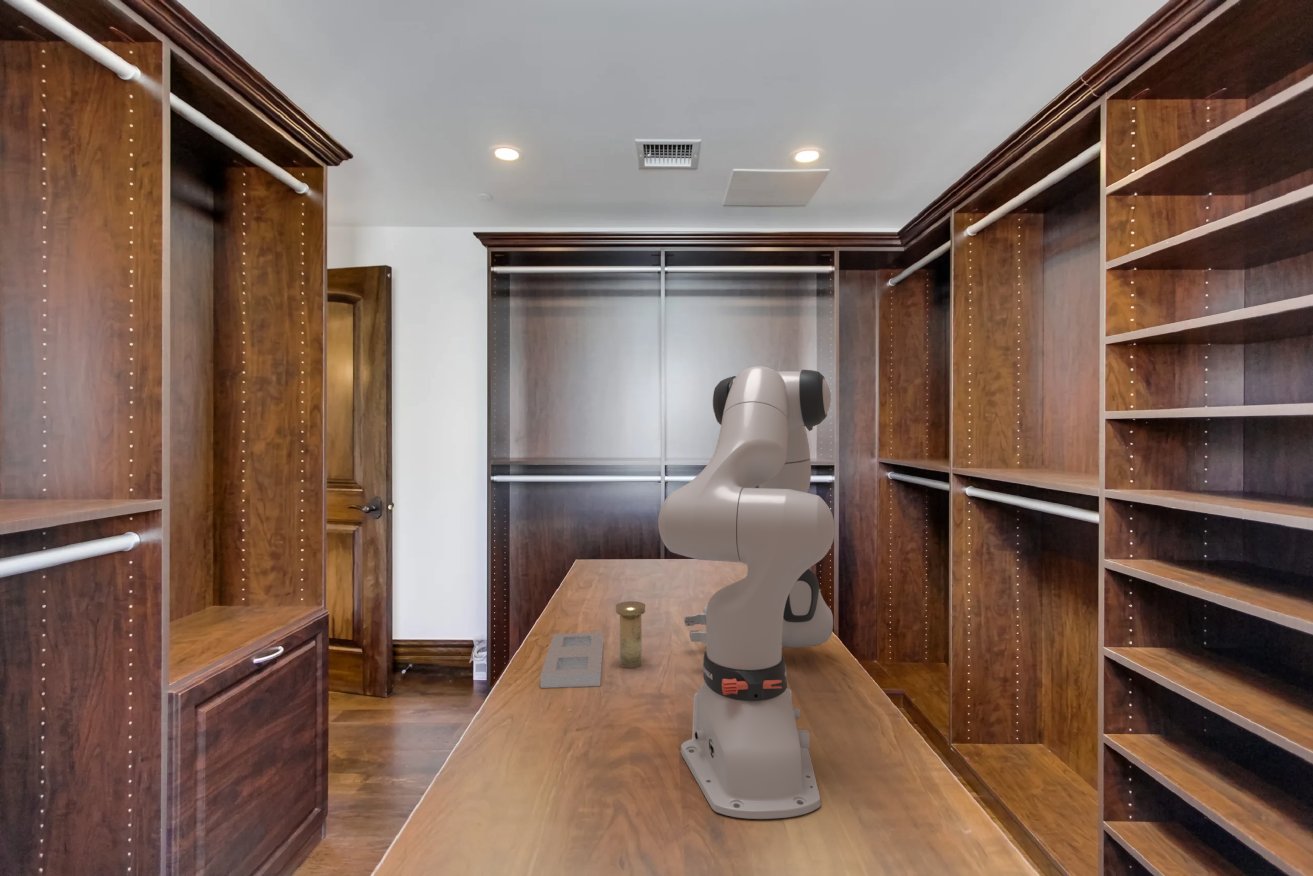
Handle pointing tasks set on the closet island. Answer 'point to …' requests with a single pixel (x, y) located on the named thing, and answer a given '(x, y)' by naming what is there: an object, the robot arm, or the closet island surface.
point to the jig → (573, 661)
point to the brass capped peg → (630, 633)
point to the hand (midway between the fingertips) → (687, 628)
